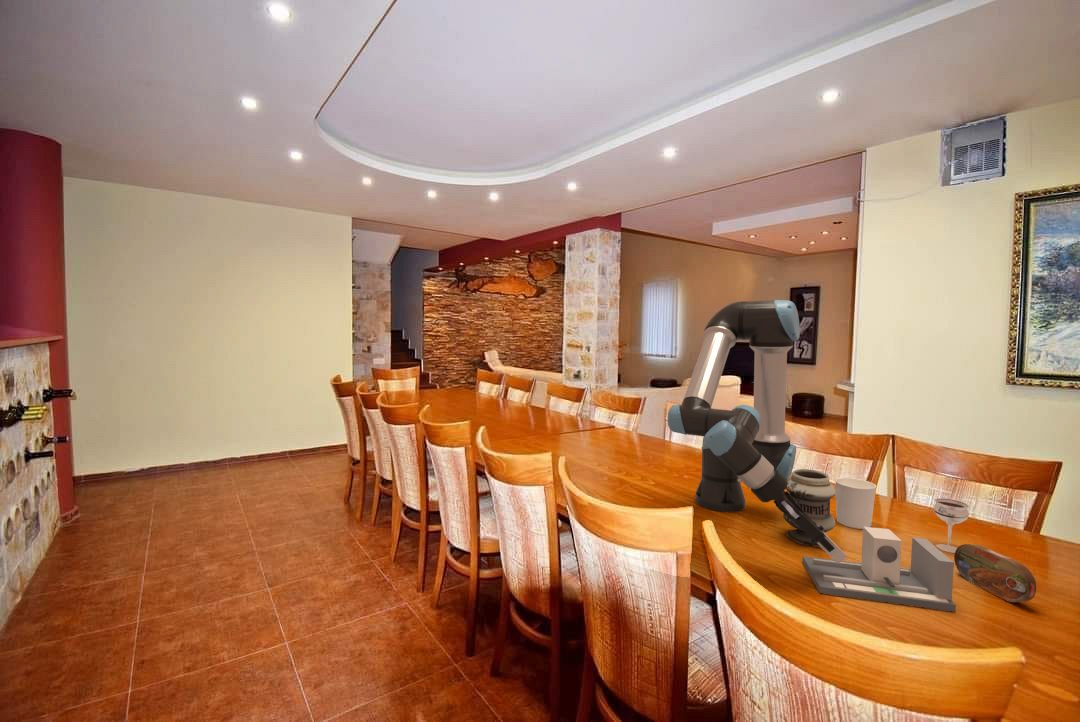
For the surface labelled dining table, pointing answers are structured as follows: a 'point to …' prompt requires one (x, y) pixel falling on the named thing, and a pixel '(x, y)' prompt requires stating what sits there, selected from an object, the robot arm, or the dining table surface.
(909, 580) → the gauge bed
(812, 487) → the apothecary jar
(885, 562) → the gauge carriage
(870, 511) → the candle holder
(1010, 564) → the tin
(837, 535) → the dining table surface
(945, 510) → the wineglass
